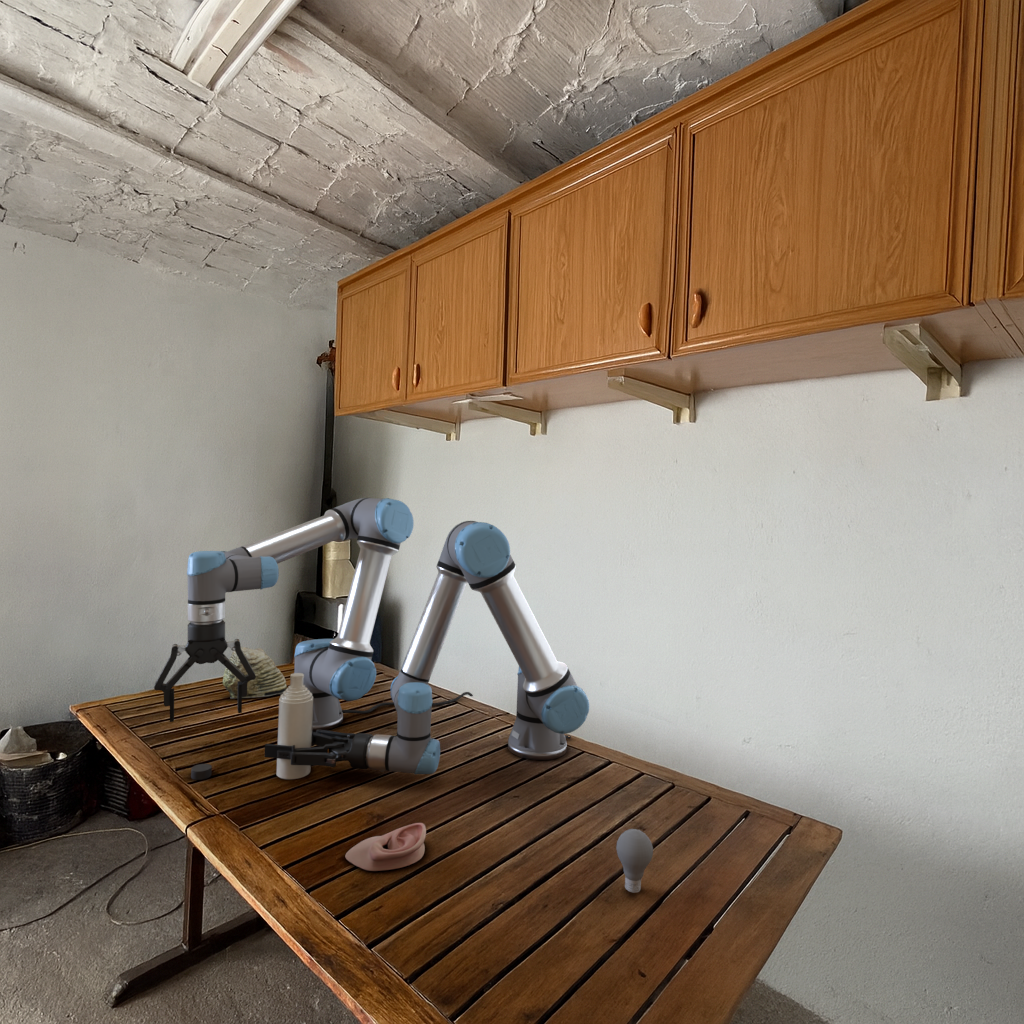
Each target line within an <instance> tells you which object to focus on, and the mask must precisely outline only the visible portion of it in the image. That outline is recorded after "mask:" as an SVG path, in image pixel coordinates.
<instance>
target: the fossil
mask: <svg viewBox="0 0 1024 1024" xmlns="http://www.w3.org/2000/svg"><path fill="white" fill-rule="evenodd" d="M241 650H242V652H243V653H244V655H245V657H246V658H247V660H248V662H249V664H250V665H251V667H252V669H253V671H254V672H255V675H256V678H255V679H254V680H250V681H249V682H248V683H247V696H246V697H242V699H250V698H264V697H271V696H275V695H281V694H283V692H284V691H286V689H287V688H288V686H287V680H286V678H285V676H284V674H283V673H282V672H281V669H279V668H278V667H277V665H276V663H275V662H274V660H273V659H272V658H271V657H270V656H269V655H268V654H267V653H266V652H265V650H264V649H263V648H260V647H258V648H251V647H247V646H246V647H245V646H241ZM228 659H229V660H230V661H231V662H232V663H233V664H234V665H235V666H236V667H237V668H238V669H239V670H240V671H241V672H242V673H243V674H244V675H247V672H246V670H245V668H244V667H243V665H242V663H241V661H240V660H239V658H238V656H237V654H236V652H235V651H232V653H231V656H230V657H229V658H228ZM222 676H223V677H222V685H223V687H224V688H225V690H226V691H228V693H229V698H230V699H238V681H240V680H239V679H238V678H237V677H236V676H235V675H234V674H233V673H231V672H230V671H229V670H228V669H227V668H226V667H224V671H223V675H222Z"/></svg>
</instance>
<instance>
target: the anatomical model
mask: <svg viewBox="0 0 1024 1024" xmlns="http://www.w3.org/2000/svg"><path fill="white" fill-rule="evenodd" d="M426 837H427V827H426V824H425V823H423V822H415V823H412V824H408V825H404V826H402V827H399V828H396V829H394V830H392V831H390V832H388V833H384V834H382V835H375V836H372V837H367V838H365V839H364V840H361V841H360V842H358V843H357V844H356V845H353V847H351V848H350V849H349V850H348V851H347V852H346V853H345V856H344V857H345V860H347V862H349V863H350V864H352V865H354V866H356V867H357V868H360V869H362V870H364V871H367V872H378V871H380V872H381V871H389V870H396V869H400V868H404V867H407V866H410V865H412V864H415V863H417V862H418V861H420V860H421V859H422V858H423V857H424V854H425V851H426V849H425V848H426V846H425V843H424V842H425V840H426Z"/></svg>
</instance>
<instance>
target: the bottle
mask: <svg viewBox="0 0 1024 1024" xmlns="http://www.w3.org/2000/svg"><path fill="white" fill-rule="evenodd" d="M289 680H290V681H289V682H290V683H289V685H288V686H287V687H286V690H285V691H284V692H283V693H280V697H279V698H278V717H277V719H278V720H277V743H276V745H286V746H293V745H295V748H309V747H313V746H312V721H313V696H312V693H311V692H310V691H309V690H308V689H307V688H306V687H305V685H303V683H304V674H303V673H294V672H293V673H291V674H290V678H289ZM311 768H312V765H291V759H279V758H276V769H275V770H276V771H275V774H276V777H278V778H279V779H282V780H296V779H301V778H304V777H306V776H308V775H309V774H310V773H311Z"/></svg>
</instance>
